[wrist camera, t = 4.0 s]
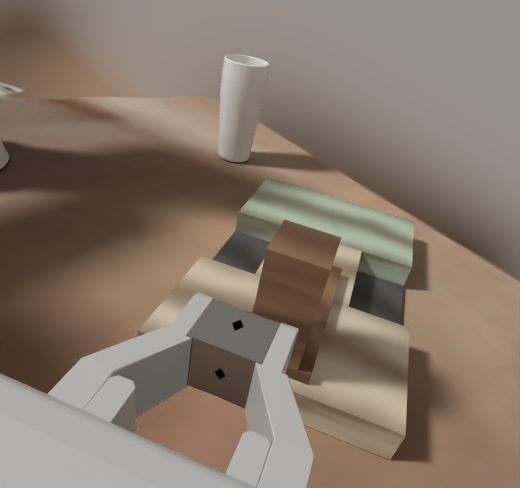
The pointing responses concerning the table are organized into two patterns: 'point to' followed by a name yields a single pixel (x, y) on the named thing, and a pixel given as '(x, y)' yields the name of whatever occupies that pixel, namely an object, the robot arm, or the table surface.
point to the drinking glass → (240, 105)
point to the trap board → (341, 314)
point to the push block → (299, 289)
